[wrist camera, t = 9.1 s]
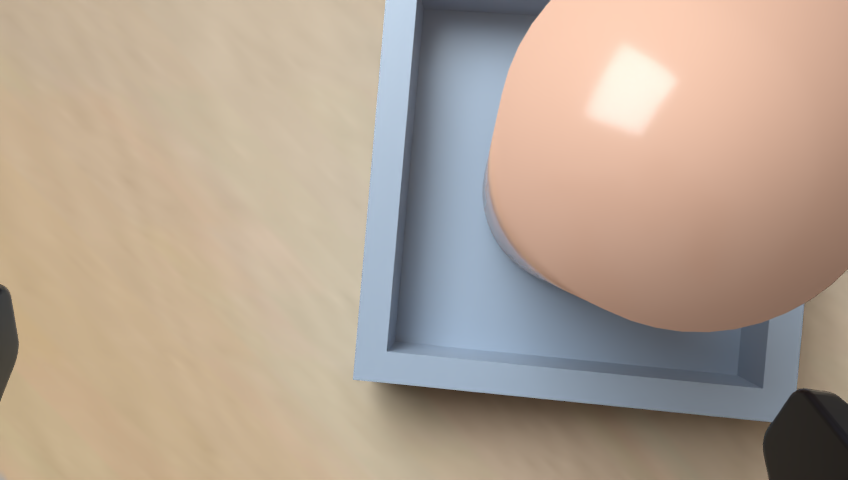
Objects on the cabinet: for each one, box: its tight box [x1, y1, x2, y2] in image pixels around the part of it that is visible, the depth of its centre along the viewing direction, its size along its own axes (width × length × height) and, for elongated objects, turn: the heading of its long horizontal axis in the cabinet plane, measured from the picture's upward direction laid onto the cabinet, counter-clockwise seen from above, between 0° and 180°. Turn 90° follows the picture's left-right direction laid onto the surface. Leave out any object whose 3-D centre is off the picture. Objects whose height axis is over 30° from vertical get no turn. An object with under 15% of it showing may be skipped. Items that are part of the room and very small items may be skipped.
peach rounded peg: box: [482, 0, 848, 332], centre depth 15 cm, size 5×5×11 cm
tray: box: [353, 0, 804, 422], centre depth 20 cm, size 11×11×2 cm
